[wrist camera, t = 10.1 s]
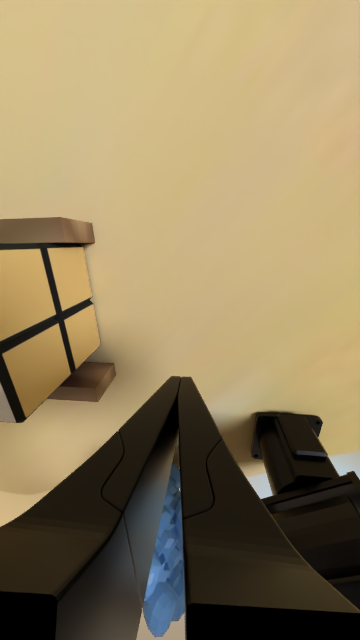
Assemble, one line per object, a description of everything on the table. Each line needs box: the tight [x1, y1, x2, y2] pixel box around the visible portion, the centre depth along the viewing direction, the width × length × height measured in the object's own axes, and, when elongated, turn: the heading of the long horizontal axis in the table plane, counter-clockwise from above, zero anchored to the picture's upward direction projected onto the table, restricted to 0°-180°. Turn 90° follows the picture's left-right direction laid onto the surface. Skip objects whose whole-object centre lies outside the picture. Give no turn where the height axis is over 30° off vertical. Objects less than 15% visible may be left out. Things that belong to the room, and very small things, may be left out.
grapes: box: [142, 463, 184, 637], centre depth 20 cm, size 12×7×12 cm, turn 26°
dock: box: [0, 217, 116, 402], centre depth 17 cm, size 20×12×6 cm, turn 1°
